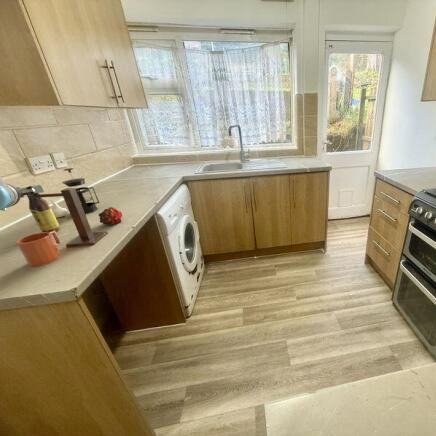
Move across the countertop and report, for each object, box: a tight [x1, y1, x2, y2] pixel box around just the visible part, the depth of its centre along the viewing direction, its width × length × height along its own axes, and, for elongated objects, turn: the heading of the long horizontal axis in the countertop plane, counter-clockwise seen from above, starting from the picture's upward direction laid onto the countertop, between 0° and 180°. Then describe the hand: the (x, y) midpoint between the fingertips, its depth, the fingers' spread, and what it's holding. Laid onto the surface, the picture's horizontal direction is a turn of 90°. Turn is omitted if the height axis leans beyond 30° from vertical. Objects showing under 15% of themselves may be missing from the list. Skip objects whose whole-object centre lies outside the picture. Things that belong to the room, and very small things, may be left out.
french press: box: [62, 167, 100, 215], centre depth 126 cm, size 12×9×23 cm
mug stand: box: [26, 187, 109, 249], centre depth 95 cm, size 19×10×22 cm, turn 97°
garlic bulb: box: [51, 200, 69, 219], centre depth 124 cm, size 6×6×8 cm
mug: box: [16, 231, 61, 267], centre depth 87 cm, size 12×8×9 cm, turn 7°
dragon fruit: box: [98, 206, 123, 226], centre depth 114 cm, size 8×8×12 cm
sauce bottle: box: [26, 193, 61, 233], centre depth 105 cm, size 7×6×20 cm
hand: (14, 193), depth 88 cm, fingers open, 9 cm apart
